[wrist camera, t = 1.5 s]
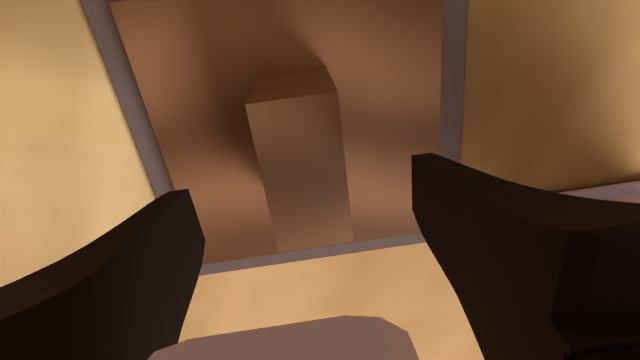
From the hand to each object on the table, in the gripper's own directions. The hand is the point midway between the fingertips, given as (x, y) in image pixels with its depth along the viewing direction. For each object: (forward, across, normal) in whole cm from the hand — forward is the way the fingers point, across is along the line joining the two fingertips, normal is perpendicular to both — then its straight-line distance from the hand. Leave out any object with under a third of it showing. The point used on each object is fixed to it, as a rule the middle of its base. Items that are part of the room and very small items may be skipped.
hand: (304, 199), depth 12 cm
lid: (+7, 0, 0) cm, 7 cm away
